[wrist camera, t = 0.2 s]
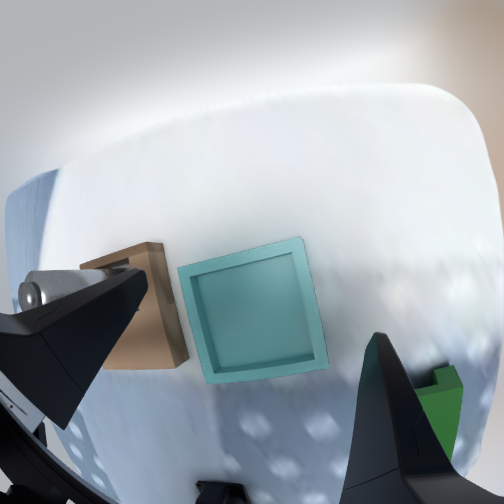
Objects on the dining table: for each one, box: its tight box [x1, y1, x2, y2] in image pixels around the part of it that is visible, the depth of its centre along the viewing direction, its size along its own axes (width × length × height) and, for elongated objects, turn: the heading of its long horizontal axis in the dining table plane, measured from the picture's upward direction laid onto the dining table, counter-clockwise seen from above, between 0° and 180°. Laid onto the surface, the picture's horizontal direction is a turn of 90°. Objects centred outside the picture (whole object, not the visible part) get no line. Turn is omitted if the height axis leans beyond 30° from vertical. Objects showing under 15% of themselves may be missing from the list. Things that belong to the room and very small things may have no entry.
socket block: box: [80, 242, 189, 370], centre depth 26 cm, size 12×10×3 cm
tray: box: [177, 237, 329, 384], centre depth 23 cm, size 11×11×2 cm
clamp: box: [415, 365, 463, 461], centre depth 18 cm, size 12×6×9 cm, turn 5°
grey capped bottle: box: [18, 268, 131, 312], centre depth 21 cm, size 4×4×14 cm
